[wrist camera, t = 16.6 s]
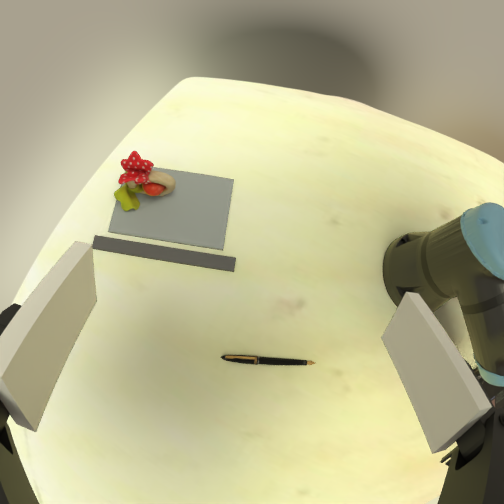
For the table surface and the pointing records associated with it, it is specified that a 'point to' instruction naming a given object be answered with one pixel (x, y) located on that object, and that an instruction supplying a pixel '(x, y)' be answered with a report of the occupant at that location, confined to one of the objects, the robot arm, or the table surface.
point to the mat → (176, 222)
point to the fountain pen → (264, 360)
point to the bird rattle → (141, 181)
